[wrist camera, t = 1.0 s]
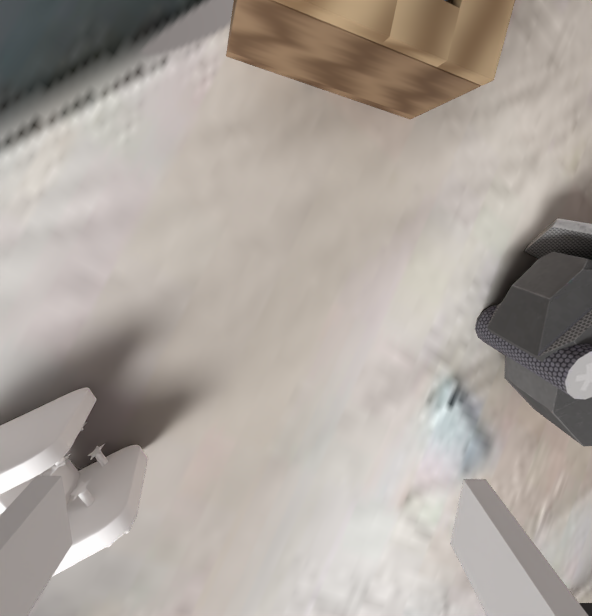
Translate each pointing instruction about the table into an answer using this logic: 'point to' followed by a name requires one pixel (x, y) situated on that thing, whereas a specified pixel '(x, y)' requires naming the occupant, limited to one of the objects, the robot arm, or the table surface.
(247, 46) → the open wooden box
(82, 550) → the cable organizer
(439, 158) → the table surface
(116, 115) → the table surface
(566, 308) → the electronic device
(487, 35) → the tan holed block
